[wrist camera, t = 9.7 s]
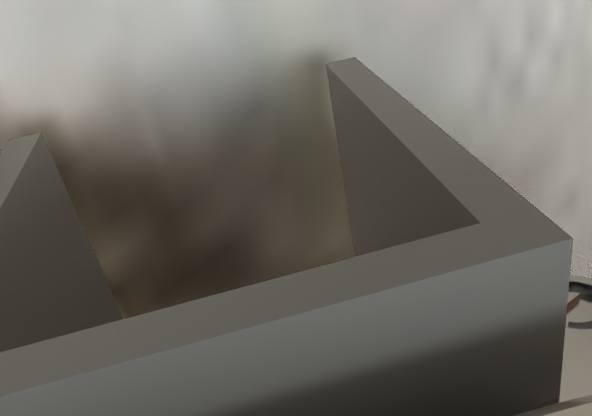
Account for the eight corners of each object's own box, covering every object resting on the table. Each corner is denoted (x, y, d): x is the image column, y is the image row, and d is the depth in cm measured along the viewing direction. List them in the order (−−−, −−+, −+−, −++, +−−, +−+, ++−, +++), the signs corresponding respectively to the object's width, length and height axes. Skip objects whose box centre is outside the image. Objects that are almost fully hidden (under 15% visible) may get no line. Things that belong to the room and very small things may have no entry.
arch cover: (354, 57, 11) (572, 238, 5) (388, 321, 15) (541, 611, 9) (9, 139, 11) (-194, 449, 5) (129, 393, 14) (102, 759, 8)
